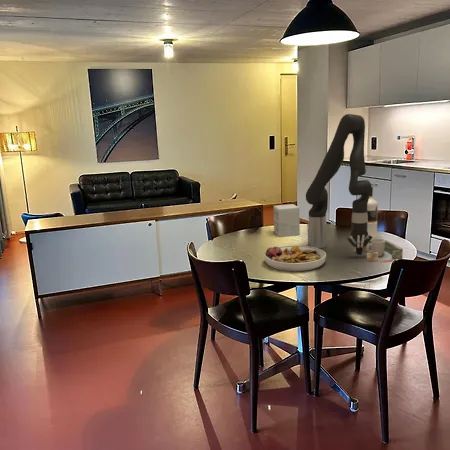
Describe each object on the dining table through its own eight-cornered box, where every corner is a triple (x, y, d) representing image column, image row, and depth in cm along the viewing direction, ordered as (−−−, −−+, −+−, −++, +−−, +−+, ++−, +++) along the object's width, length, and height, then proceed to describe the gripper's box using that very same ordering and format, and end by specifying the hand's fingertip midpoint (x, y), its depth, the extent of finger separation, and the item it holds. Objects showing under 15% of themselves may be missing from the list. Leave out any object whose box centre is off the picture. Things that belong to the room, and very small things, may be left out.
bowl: (326, 255, 227) (326, 240, 225) (325, 274, 199) (325, 258, 197) (269, 254, 234) (268, 239, 233) (260, 272, 206) (259, 256, 204)
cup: (372, 259, 215) (372, 243, 213) (360, 255, 222) (360, 240, 220) (388, 255, 220) (388, 240, 218) (376, 251, 226) (376, 237, 225)
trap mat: (381, 262, 210) (381, 262, 210) (379, 261, 212) (379, 260, 212) (395, 261, 210) (395, 260, 210) (392, 259, 213) (392, 259, 213)
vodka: (366, 235, 258) (367, 185, 252) (380, 237, 252) (382, 186, 245) (358, 239, 252) (358, 187, 245) (373, 241, 246) (374, 188, 239)
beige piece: (368, 261, 212) (368, 252, 211) (353, 252, 228) (353, 242, 227) (402, 258, 214) (402, 248, 212) (385, 249, 230) (385, 240, 229)
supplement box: (294, 230, 280) (293, 203, 276) (300, 235, 267) (299, 207, 263) (273, 232, 278) (272, 205, 274) (279, 237, 266) (278, 209, 262)
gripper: (349, 223, 211) (349, 257, 215) (375, 221, 213) (374, 255, 216) (343, 220, 219) (343, 253, 222) (369, 218, 220) (368, 251, 224)
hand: (359, 254), depth 219 cm, fingers closed
